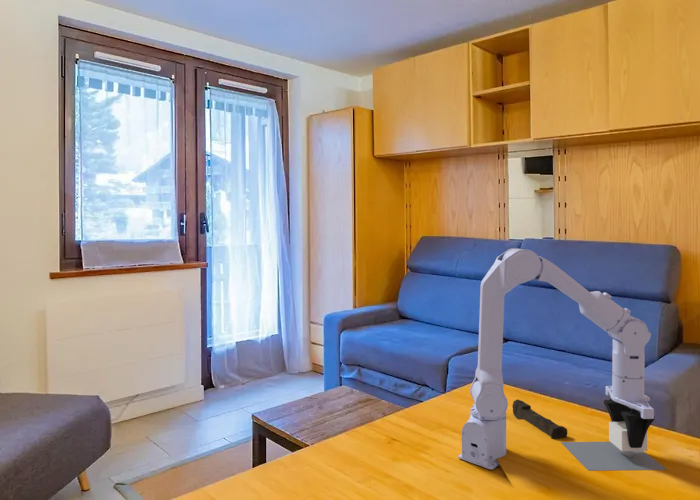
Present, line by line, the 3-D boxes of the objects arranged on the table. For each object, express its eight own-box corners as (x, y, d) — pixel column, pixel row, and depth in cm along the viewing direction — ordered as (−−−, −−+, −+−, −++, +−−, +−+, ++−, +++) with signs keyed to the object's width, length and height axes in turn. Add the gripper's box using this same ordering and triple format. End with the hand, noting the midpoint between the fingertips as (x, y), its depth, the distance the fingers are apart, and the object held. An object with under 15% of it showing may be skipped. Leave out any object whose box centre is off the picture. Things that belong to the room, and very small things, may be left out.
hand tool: (568, 444, 112) (568, 423, 112) (552, 445, 111) (552, 424, 111) (523, 414, 131) (523, 396, 131) (509, 415, 130) (509, 397, 130)
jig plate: (588, 476, 97) (588, 454, 97) (560, 447, 110) (560, 428, 110) (667, 475, 97) (667, 453, 96) (630, 446, 110) (630, 427, 109)
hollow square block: (621, 451, 101) (621, 431, 100) (609, 440, 106) (609, 421, 105) (647, 450, 100) (647, 430, 100) (633, 440, 105) (633, 421, 105)
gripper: (670, 385, 95) (670, 456, 96) (628, 365, 110) (628, 427, 110) (632, 386, 95) (632, 457, 96) (595, 365, 110) (595, 427, 110)
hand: (627, 441), depth 103 cm, fingers closed on hollow square block, 5 cm apart
